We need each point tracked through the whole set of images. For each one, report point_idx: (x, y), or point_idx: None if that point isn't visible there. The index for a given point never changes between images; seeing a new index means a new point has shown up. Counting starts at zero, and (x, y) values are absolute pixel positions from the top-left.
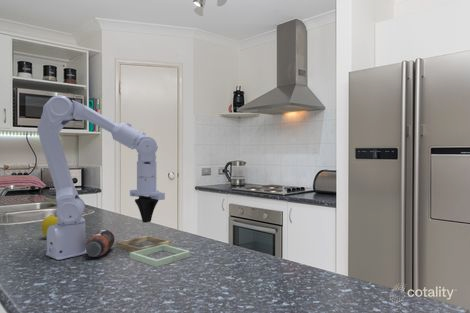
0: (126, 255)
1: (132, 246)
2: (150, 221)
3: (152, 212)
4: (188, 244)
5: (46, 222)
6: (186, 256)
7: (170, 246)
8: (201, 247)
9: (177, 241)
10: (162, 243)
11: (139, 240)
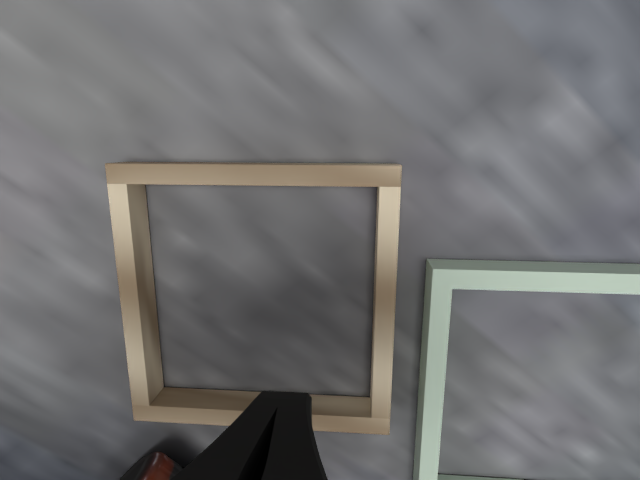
0: (349, 464)
1: None
2: (310, 399)
3: (319, 467)
4: (478, 37)
5: None
6: None
7: (523, 278)
8: (636, 31)
9: (332, 31)
10: (396, 249)
11: (143, 253)
